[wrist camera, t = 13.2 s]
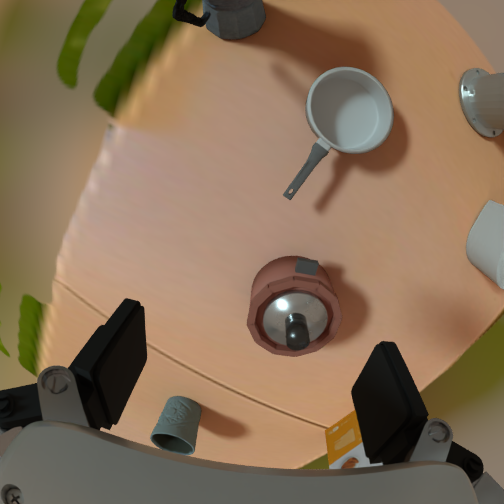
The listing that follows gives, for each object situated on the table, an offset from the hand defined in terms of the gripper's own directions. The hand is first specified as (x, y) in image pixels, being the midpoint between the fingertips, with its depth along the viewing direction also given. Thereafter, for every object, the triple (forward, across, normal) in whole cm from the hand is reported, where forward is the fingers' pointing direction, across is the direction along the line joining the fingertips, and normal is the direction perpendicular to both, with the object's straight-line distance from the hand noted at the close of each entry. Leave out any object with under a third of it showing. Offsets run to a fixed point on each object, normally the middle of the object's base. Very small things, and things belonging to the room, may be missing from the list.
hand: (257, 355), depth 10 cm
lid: (+25, -7, +15) cm, 30 cm away
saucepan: (+33, -6, -10) cm, 35 cm away
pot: (+32, -7, +15) cm, 36 cm away
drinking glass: (+32, +10, +52) cm, 62 cm away
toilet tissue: (+32, -42, -2) cm, 53 cm away
